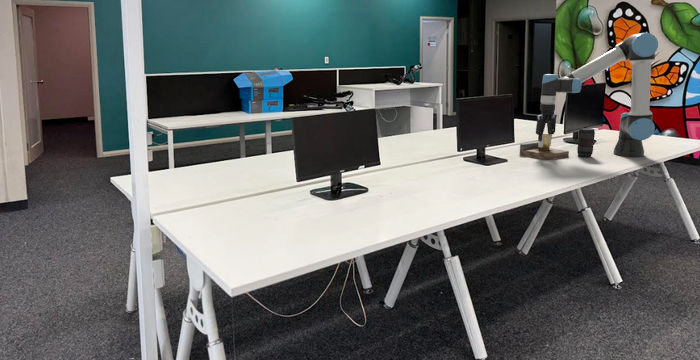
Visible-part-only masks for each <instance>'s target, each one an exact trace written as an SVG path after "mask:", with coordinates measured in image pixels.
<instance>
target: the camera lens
mask: <svg viewBox="0 0 700 360" xmlns="http://www.w3.org/2000/svg"><path fill="white" fill-rule="evenodd" d="M595 134H596V132H595V128H584V127H583V128H579V130H578V135H577V138H578V139H577V149H576V151H577V152H576V153H577V156H578V158H583V159H584V158H585V159H586V158H591V157H592V155H593V152H594V145H595V141H594V140H595V136H596V135H595Z"/></svg>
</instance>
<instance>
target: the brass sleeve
mask: <svg viewBox="0 0 700 360" xmlns="http://www.w3.org/2000/svg"><path fill="white" fill-rule="evenodd" d="M543 135H544V141H543V147H539V150H538V151H543V152H549V149H550V148H551V146H550V137H551V135H550V134H548V133H543Z"/></svg>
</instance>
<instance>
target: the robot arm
mask: <svg viewBox="0 0 700 360" xmlns="http://www.w3.org/2000/svg"><path fill="white" fill-rule="evenodd" d="M658 48H659V41H658V38H657V37H656V36H655V35H654V34H652V33H650V32H640V33H637V32H636V33H634V34H631V35H630V36H628V37H627V38H625V39H624V40H623V41H620V42H619V43H618V44H616V45H615V47H614V48H613V49H610V50H609V51H607V52H606V53H603V55H602V54H601V56H599V57H597V58H595V59H593V60H591V61H590V62H588V63H586V64H584V65H582V66H581V67H579V68H577V69H575V70H574V71H571V73H569V74H567V75H565V76H561V77H560V78H559V75H558V74H555V73H553V74H551V73H547V74H546V73H545V74H543V75H542V82H541V93H540V105H539V106H540V107H539V110H540V114H538V115H536V128H535V135H538V138H537V140H538V141H537V142H538V147H543V141H544V135H543V134H544V132H545V128H547V134H550V135H551V137H550V147H552V139H553V135H555V133H556V126H557V117H558V115H557V114H554V112H555V111H556V100H557V99H556V98H557V93H570V94H576V93H580V92H581V90H582V86H583V85H582V84H583V83H584V82H586V81H587V80H589V79H591V78H593V77H594V76H596V75H598V74H600V73H602V72H603V71H606V70H607V69H608V68H611V67H613V66H615V65H616V64H618V63H620V62H621V61H623V62H626V61H627V60H628V61H629V63H630V64H631V89H630V90H631V93H630V111H629V112H623V113H621V114H620V119H619V121H620V123H619V131H618V140H617V142H616V144H615V146H614V149H613V155H617V156H621V157H630V158H631V157H643V156H644V155H645V150H644V149H645V148H644V145H643V141H645V140H647V139H650V138H651V137H652V136H653V135H654V133H655V130H656V129H655V128H656V126H655V123H654V122H653V112H652V111H651V110H650V101H651V81H652V80H651V77H652V76H651V74H652V63H653V62H654V61H655V59H656V52H657V50H658Z"/></svg>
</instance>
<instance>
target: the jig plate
mask: <svg viewBox="0 0 700 360" xmlns="http://www.w3.org/2000/svg"><path fill="white" fill-rule="evenodd" d="M538 150H539V147H538V141H534V142H525V143H520V144H519V156H524V157H529V158H533V159H534V158H535V159H539V160H544V161H550V160H556V159H562V158H568V157H569V154H570V151H569V150H562V149H559V148H558V149H557V148H552V147H550V149H549V152H543V151H538Z"/></svg>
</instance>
